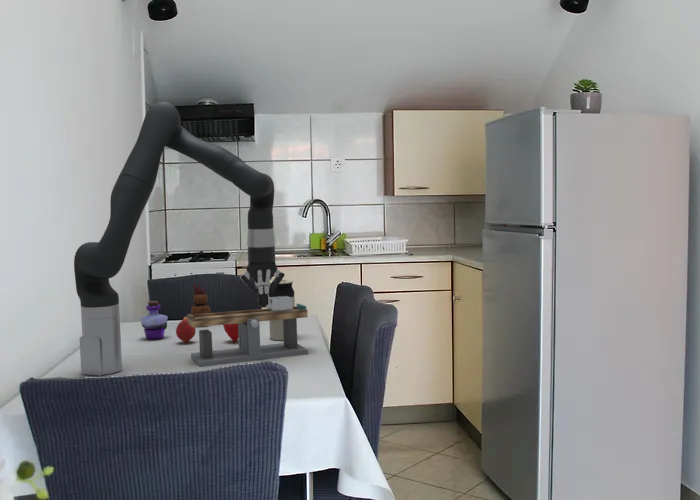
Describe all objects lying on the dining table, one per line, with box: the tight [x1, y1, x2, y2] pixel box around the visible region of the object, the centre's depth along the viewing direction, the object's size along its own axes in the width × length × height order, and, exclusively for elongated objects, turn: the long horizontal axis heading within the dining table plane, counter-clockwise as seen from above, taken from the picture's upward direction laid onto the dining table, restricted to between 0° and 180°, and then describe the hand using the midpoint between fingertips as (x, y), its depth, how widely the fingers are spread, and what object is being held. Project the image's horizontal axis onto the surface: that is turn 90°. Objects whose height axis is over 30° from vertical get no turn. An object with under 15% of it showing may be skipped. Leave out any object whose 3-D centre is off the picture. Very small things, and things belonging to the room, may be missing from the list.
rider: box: [266, 296, 293, 313], centre depth 191 cm, size 6×5×4 cm
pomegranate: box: [175, 316, 196, 344], centre depth 207 cm, size 6×6×8 cm
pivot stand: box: [190, 318, 309, 367], centre depth 187 cm, size 30×14×11 cm, turn 113°
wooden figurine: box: [190, 283, 212, 315], centre depth 235 cm, size 7×6×15 cm
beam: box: [186, 303, 309, 328], centre depth 187 cm, size 32×8×3 cm, turn 113°
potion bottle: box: [139, 300, 169, 341], centre depth 215 cm, size 9×9×12 cm
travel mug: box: [268, 279, 296, 342], centre depth 210 cm, size 8×8×18 cm
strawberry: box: [223, 310, 239, 343], centre depth 206 cm, size 6×8×10 cm
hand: (263, 307), depth 188 cm, fingers closed
